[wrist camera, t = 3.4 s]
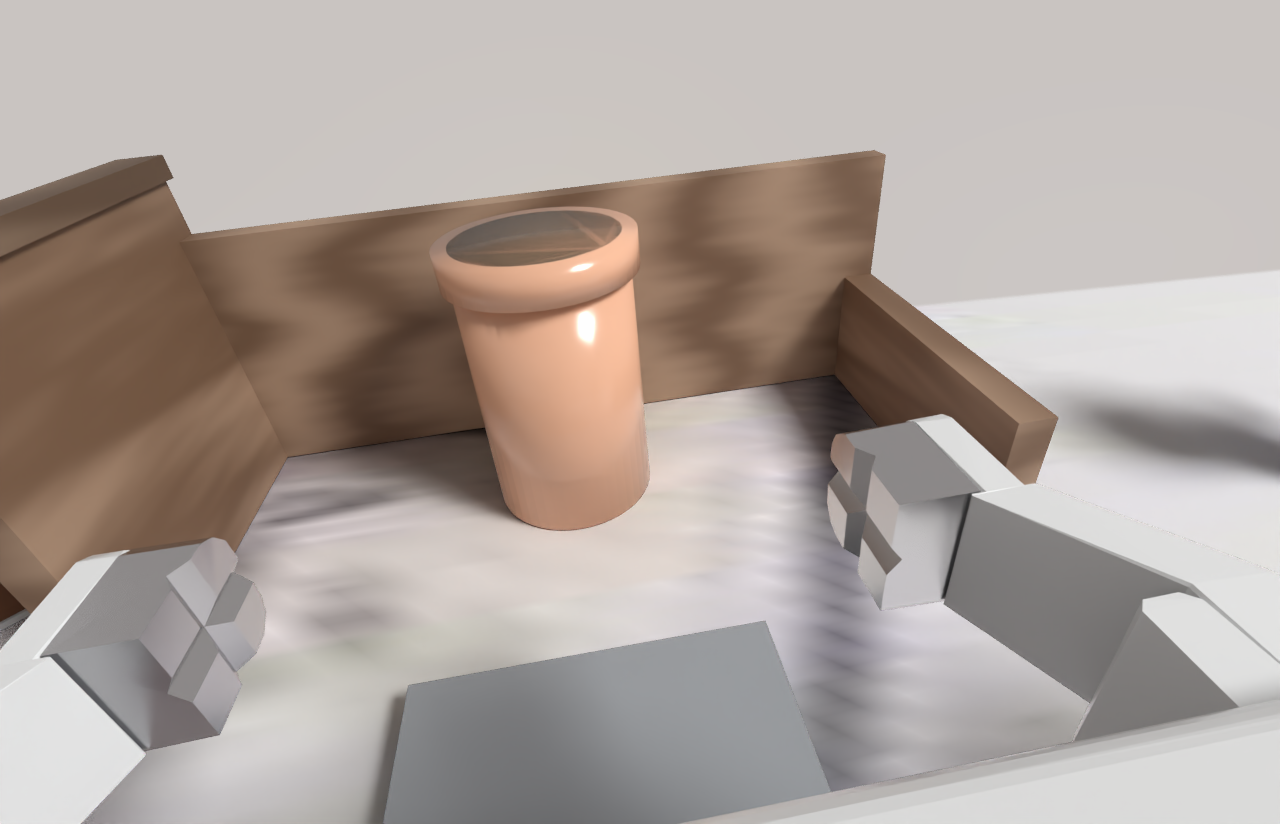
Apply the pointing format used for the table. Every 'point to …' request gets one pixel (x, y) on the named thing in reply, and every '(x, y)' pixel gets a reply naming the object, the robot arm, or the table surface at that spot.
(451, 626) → the table surface
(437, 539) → the table surface
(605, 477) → the terracotta pot
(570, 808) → the slate mat
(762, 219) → the open wooden panel enclosure
